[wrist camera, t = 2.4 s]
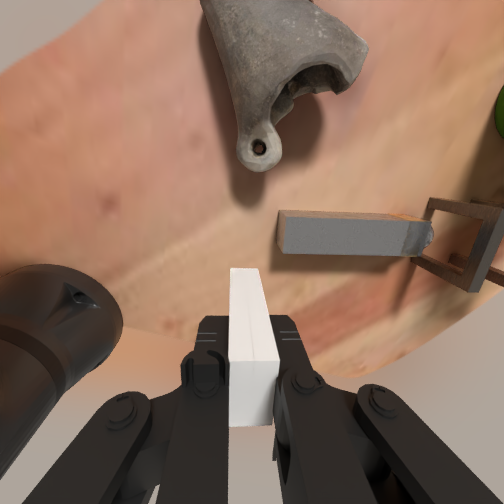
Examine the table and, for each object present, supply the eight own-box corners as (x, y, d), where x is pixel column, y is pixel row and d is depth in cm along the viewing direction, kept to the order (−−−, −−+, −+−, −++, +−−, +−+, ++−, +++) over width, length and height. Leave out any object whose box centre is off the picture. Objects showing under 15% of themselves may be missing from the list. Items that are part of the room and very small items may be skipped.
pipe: (226, 91, 30) (292, 181, 27) (160, 70, 24) (236, 184, 21) (319, -105, 19) (448, 8, 16) (242, -240, 13) (431, -98, 10)
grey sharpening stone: (276, 242, 29) (282, 253, 25) (279, 209, 28) (286, 216, 24) (411, 246, 31) (436, 257, 27) (421, 214, 29) (448, 222, 26)
